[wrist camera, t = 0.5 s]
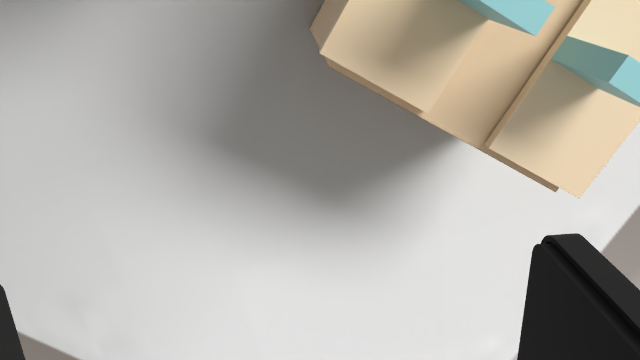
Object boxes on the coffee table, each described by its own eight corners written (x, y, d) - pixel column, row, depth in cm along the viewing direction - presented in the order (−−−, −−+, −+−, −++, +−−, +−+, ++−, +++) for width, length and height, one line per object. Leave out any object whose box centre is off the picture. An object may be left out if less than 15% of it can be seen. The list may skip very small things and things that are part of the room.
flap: (630, -68, 25) (720, -69, 20) (722, 1, 27) (826, 15, 22) (484, 144, 28) (531, 187, 24) (573, 193, 30) (634, 244, 25)
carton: (395, -160, 34) (516, -248, 18) (581, -30, 38) (816, -6, 22) (297, 24, 37) (324, 88, 21) (476, 125, 41) (611, 243, 25)
